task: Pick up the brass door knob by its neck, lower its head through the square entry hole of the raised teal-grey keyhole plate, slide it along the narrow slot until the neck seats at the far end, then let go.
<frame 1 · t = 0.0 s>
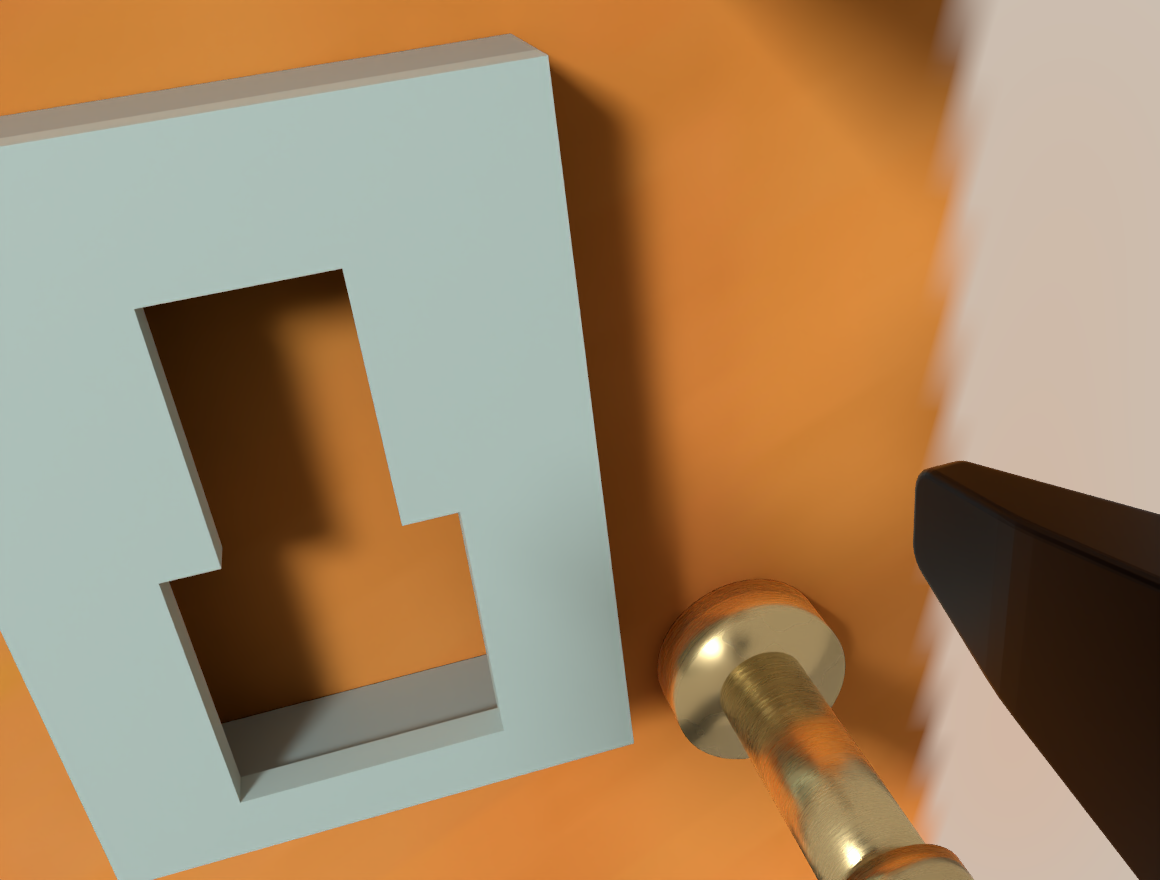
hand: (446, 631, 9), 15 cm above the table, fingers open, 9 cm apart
brass door knob: (739, 652, 30), on the table
keyhole plate: (301, 453, 24), on the table
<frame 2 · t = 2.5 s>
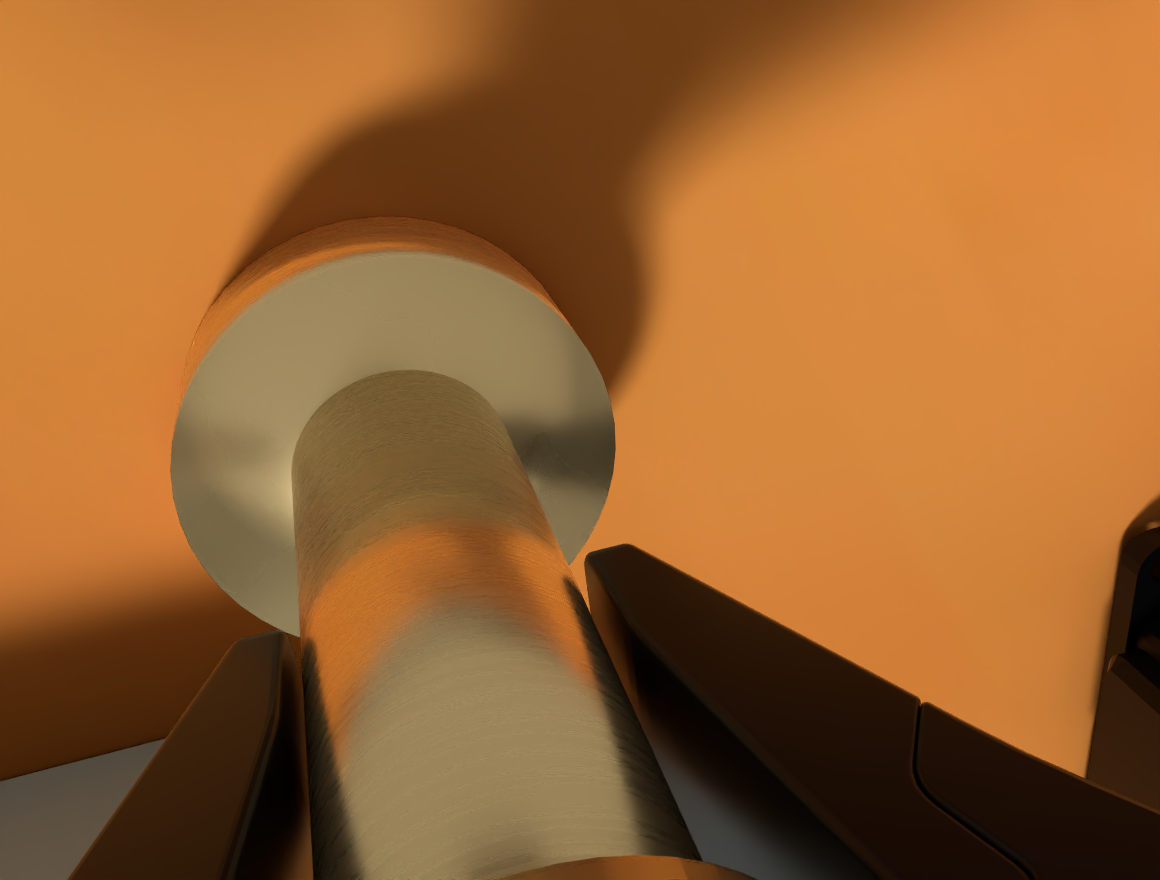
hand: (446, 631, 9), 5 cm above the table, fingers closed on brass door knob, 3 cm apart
brass door knob: (389, 410, 13), on the table, touching gripper
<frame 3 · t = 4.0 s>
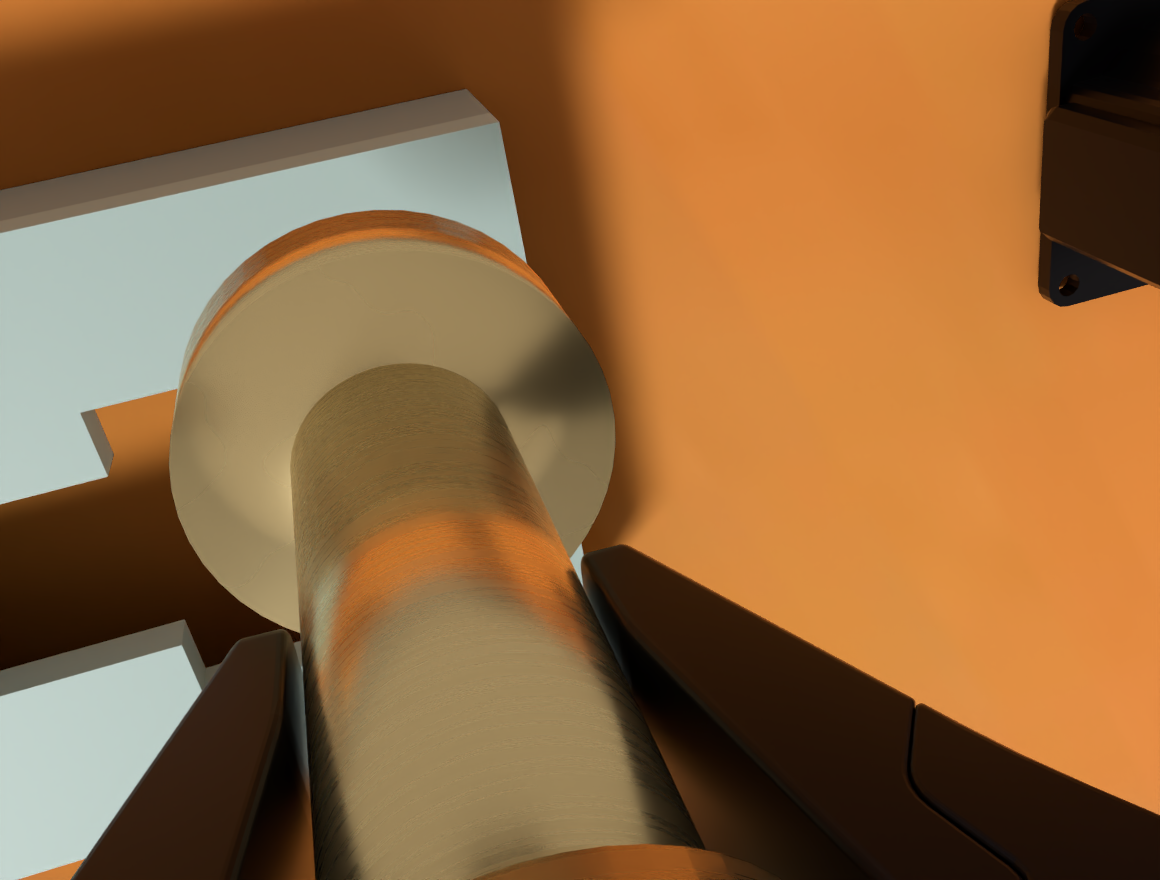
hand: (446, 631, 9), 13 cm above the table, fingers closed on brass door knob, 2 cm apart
brass door knob: (388, 405, 13), point 8 cm above the table, touching gripper
keyhole plate: (136, 484, 21), on the table
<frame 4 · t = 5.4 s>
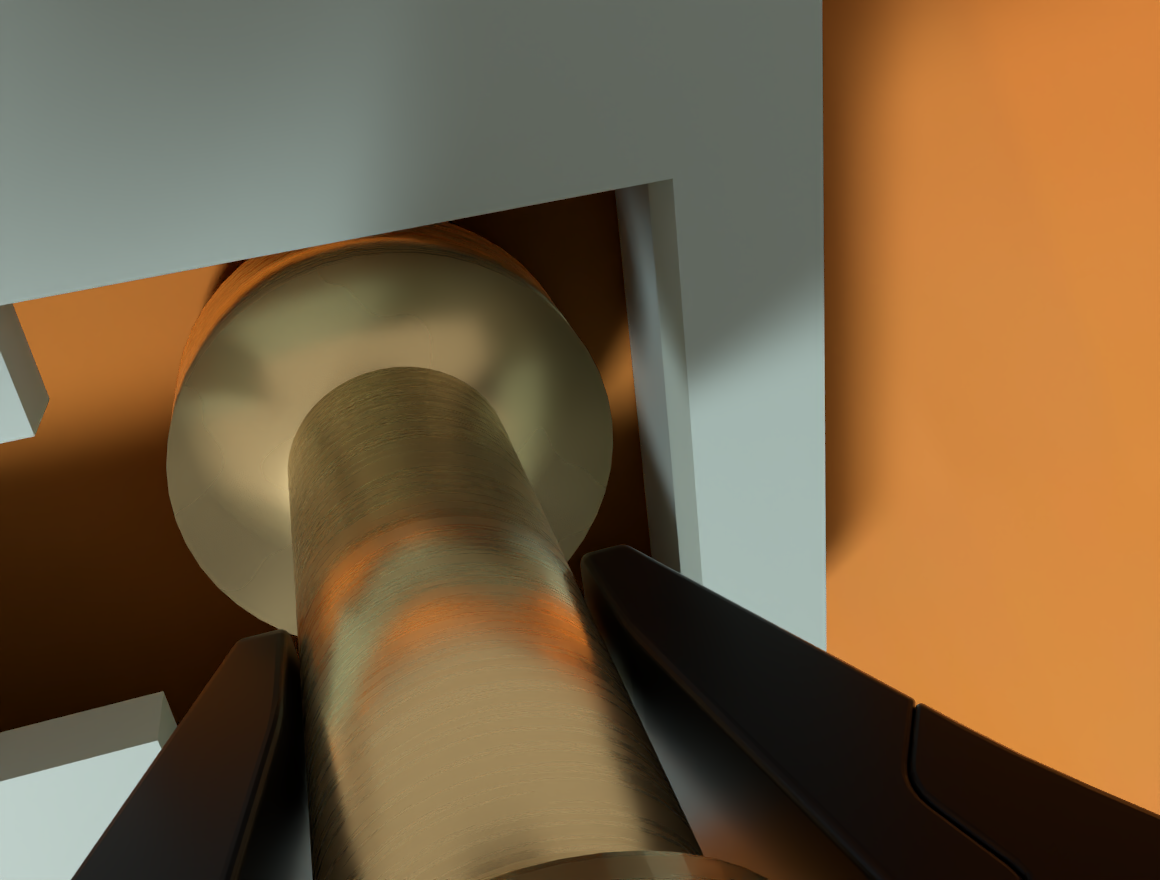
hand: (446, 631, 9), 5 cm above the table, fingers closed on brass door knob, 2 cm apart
brass door knob: (386, 407, 13), resting in keyhole plate, touching gripper
keyhole plate: (90, 460, 13), on the table
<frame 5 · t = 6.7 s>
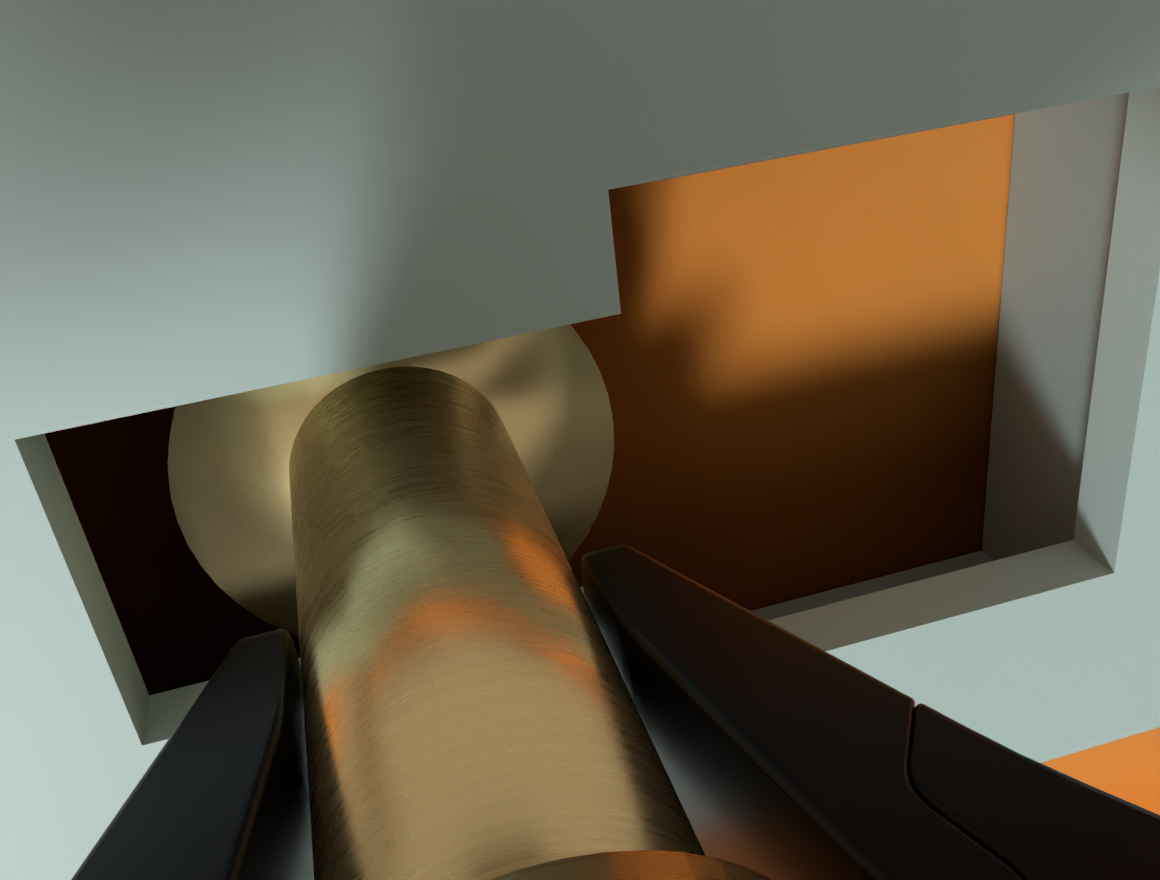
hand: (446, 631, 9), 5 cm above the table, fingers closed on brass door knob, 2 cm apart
brass door knob: (387, 407, 13), resting in keyhole plate, touching gripper
keyhole plate: (526, 366, 14), on the table
when the fingers open (5 cm above the table, at t = 8.0 s): brass door knob stays where it is, resting in keyhole plate.
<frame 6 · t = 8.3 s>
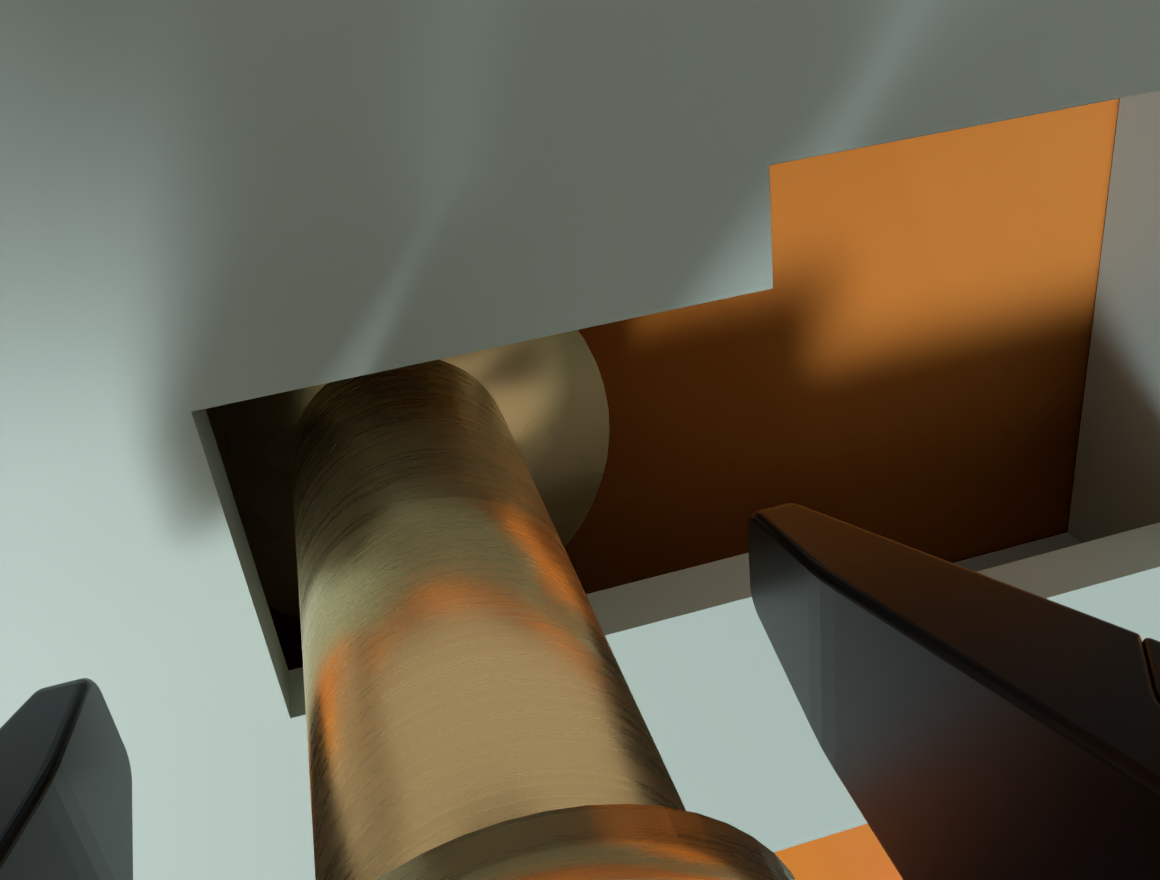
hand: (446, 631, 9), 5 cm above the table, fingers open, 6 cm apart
brass door knob: (387, 397, 13), resting in keyhole plate
keyhole plate: (639, 347, 14), on the table
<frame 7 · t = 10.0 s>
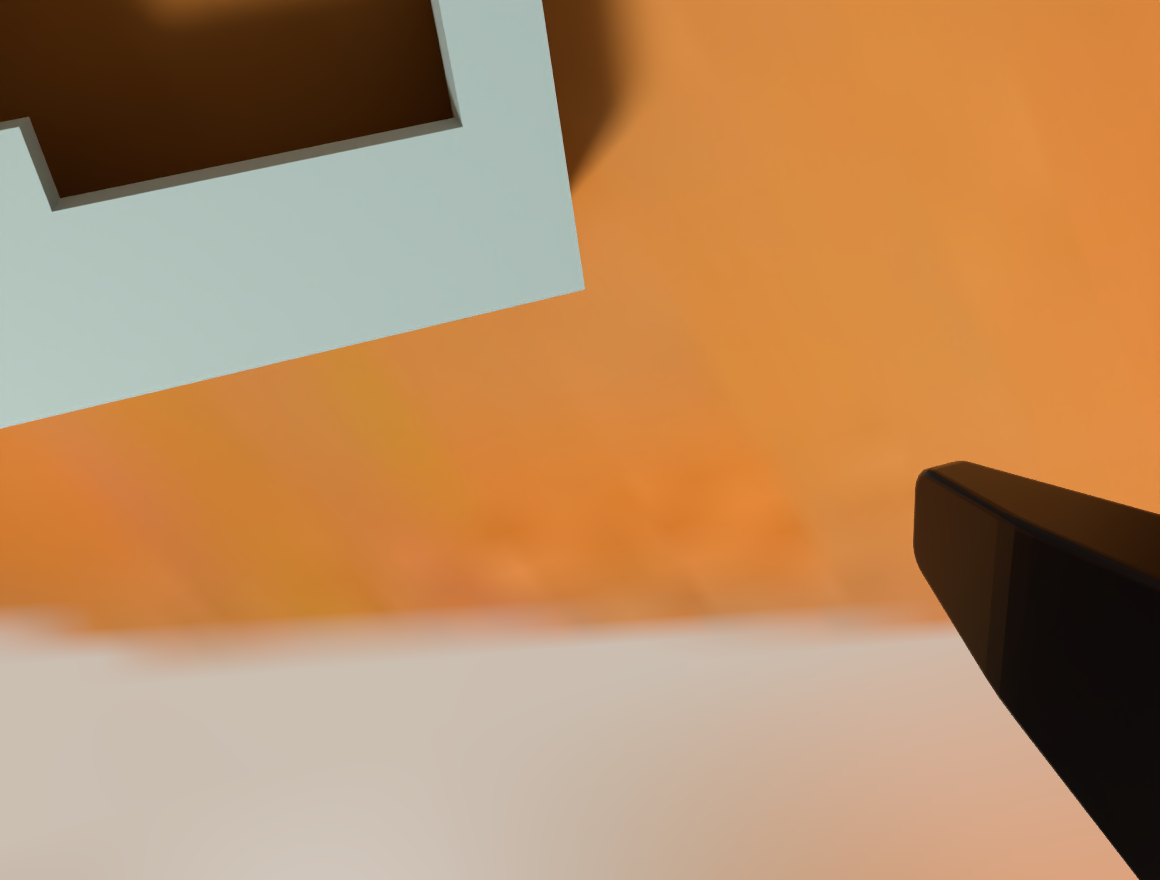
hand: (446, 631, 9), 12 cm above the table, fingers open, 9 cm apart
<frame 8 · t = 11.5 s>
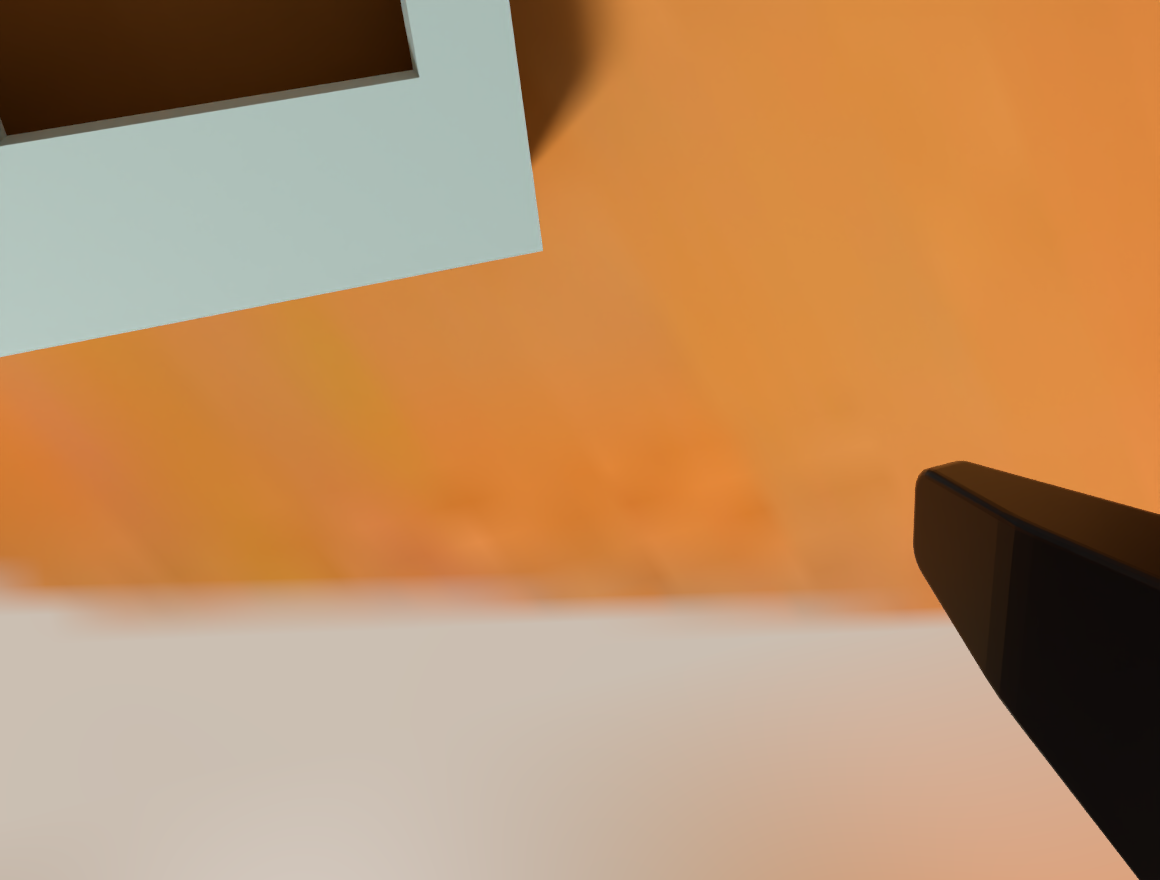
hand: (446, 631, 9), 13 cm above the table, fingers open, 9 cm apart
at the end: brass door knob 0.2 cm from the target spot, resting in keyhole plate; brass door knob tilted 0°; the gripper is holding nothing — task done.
